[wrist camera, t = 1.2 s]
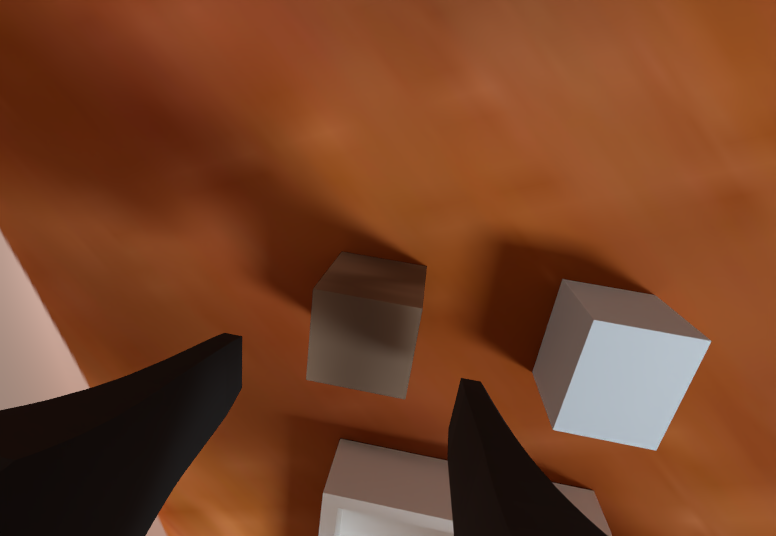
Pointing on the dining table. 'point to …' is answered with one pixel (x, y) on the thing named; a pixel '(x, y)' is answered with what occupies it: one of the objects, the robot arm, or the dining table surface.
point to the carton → (615, 364)
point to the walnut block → (366, 324)
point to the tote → (403, 494)
